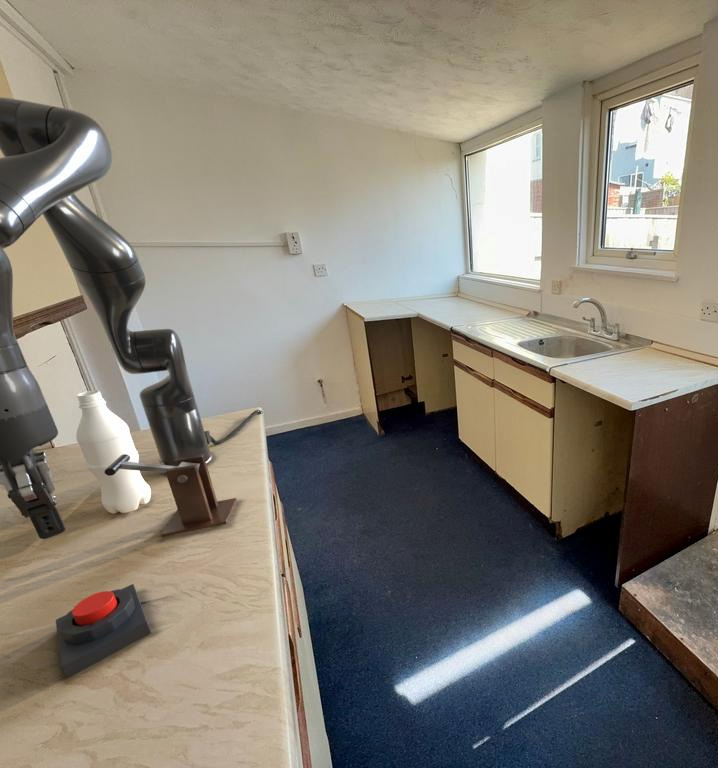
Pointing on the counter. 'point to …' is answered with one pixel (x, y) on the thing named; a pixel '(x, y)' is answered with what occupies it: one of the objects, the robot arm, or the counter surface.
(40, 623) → the counter surface
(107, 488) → the water bottle
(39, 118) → the robot arm
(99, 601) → the button
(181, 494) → the bracket
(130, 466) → the lever
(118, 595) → the control block
